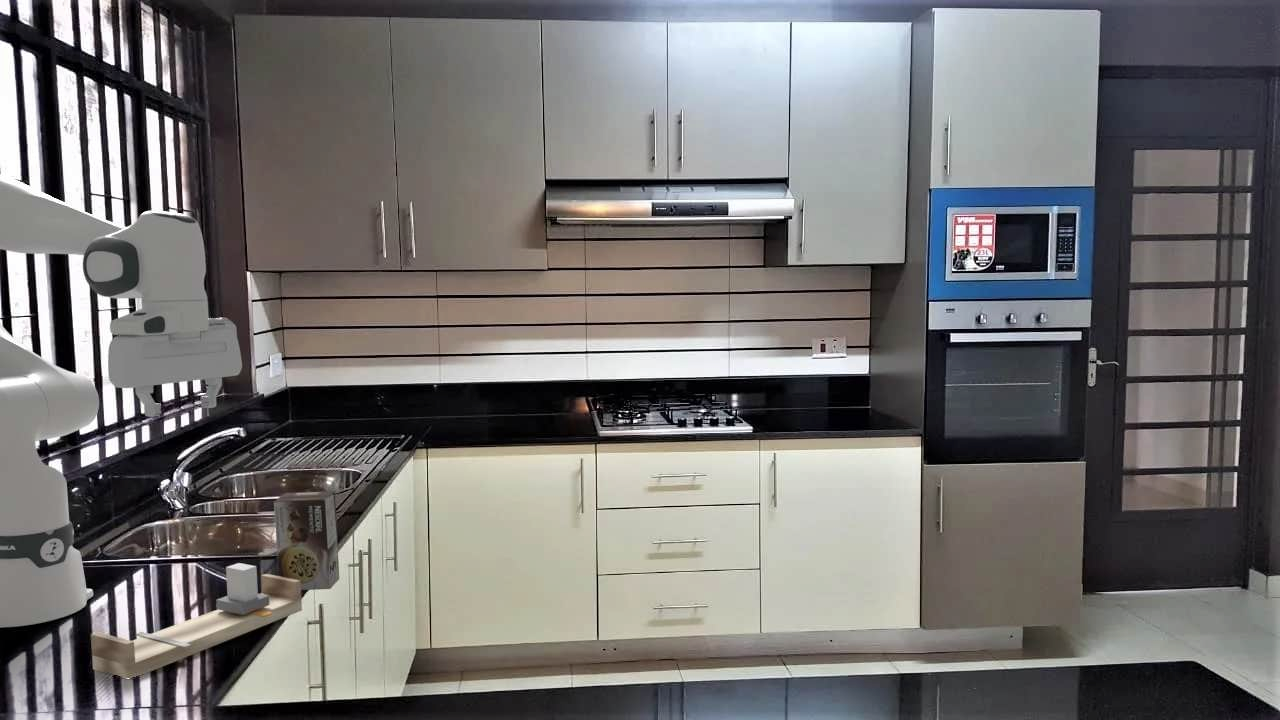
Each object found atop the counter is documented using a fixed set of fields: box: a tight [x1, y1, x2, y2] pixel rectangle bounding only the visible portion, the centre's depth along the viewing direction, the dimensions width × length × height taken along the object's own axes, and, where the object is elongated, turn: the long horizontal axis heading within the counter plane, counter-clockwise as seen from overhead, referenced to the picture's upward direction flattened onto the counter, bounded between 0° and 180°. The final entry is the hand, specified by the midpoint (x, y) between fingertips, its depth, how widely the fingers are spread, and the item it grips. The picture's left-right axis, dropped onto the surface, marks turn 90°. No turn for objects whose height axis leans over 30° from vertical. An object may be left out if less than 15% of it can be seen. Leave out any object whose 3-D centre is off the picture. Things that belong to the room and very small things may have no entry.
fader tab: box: [215, 562, 270, 615], centre depth 151 cm, size 6×5×6 cm
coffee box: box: [273, 490, 340, 591], centre depth 168 cm, size 9×6×16 cm
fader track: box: [90, 573, 303, 679], centre depth 145 cm, size 11×30×5 cm, turn 152°
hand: (181, 411), depth 145 cm, fingers open, 8 cm apart
